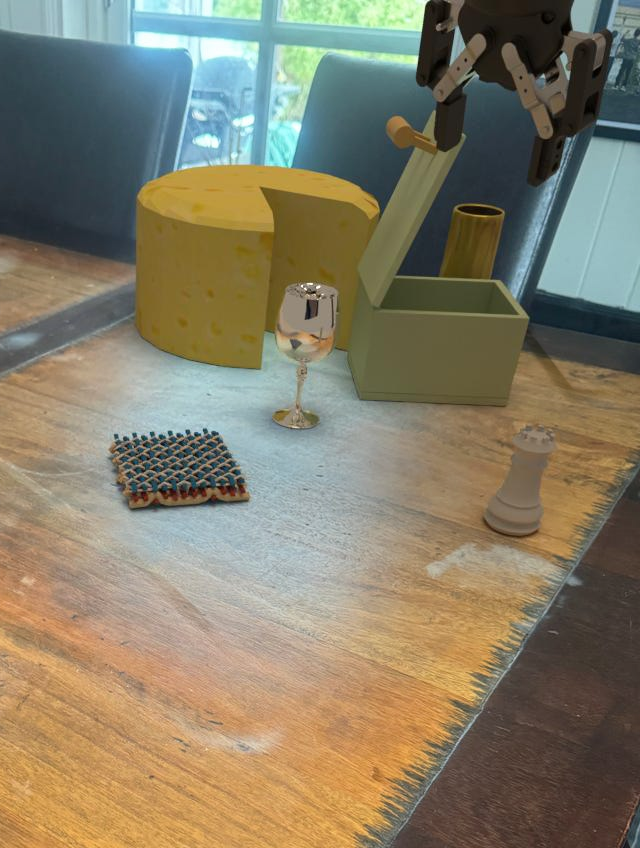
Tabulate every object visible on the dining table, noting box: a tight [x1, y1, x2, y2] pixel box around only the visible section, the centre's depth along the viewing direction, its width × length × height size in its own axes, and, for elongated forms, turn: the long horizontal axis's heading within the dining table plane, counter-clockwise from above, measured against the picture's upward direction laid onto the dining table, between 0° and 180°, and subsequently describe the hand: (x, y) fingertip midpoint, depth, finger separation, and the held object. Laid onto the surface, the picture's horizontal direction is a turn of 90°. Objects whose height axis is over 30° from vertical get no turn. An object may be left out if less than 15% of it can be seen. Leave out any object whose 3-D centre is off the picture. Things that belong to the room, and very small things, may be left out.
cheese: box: [134, 164, 381, 370], centre depth 105 cm, size 26×26×15 cm
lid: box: [357, 109, 467, 307], centre depth 88 cm, size 15×12×5 cm
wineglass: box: [272, 283, 340, 430], centre depth 86 cm, size 6×6×12 cm
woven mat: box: [107, 427, 251, 509], centre depth 79 cm, size 10×11×2 cm
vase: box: [438, 203, 506, 280], centre depth 103 cm, size 6×6×14 cm
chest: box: [346, 274, 530, 407], centre depth 96 cm, size 15×12×9 cm
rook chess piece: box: [483, 423, 558, 537], centre depth 73 cm, size 4×4×8 cm
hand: (491, 163), depth 73 cm, fingers open, 8 cm apart
